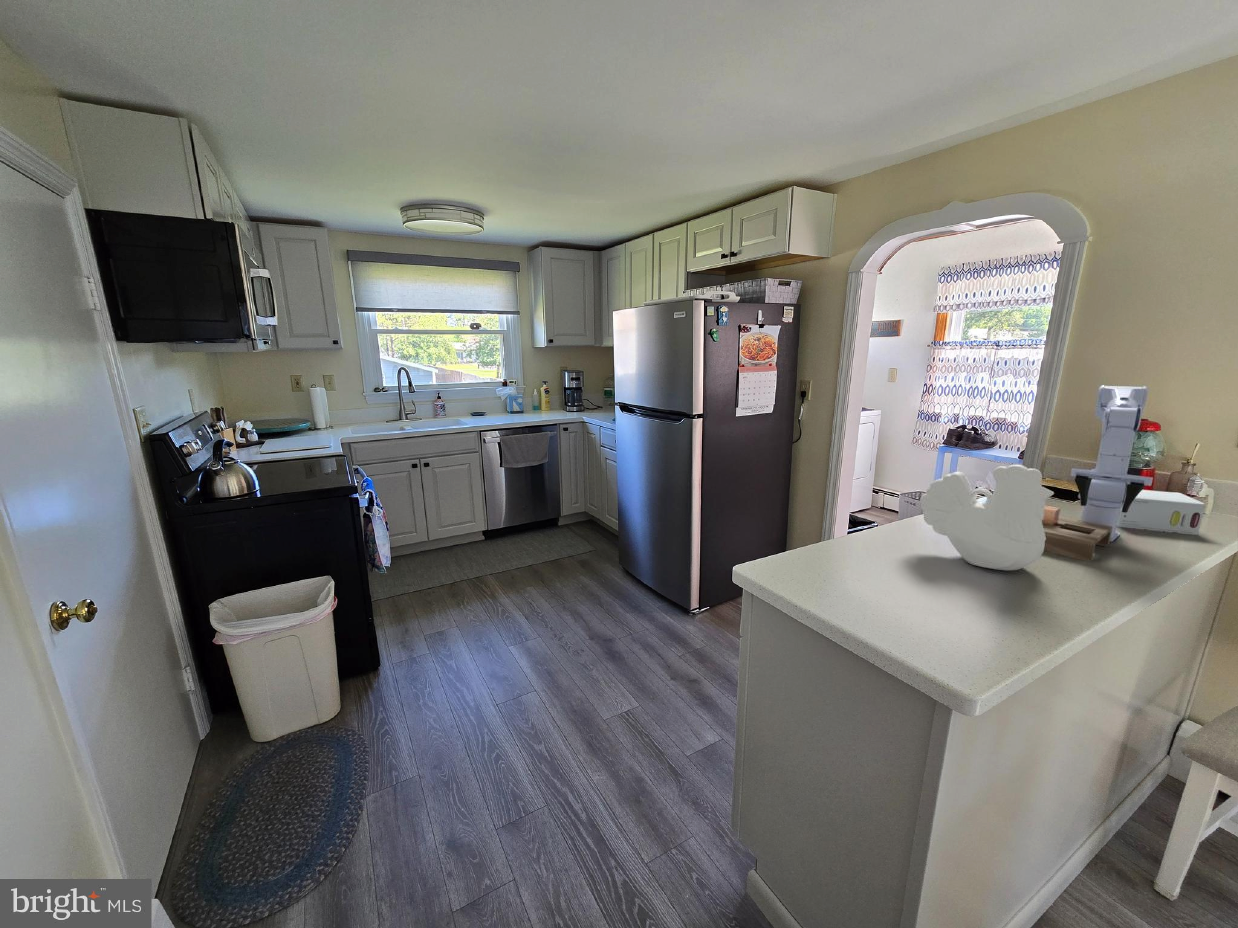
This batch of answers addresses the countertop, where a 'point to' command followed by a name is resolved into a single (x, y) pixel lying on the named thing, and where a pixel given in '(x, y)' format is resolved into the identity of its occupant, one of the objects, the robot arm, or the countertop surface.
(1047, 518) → the brown piece
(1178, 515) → the supplement box
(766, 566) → the countertop surface
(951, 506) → the decorative rooster
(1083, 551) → the keyhole board
